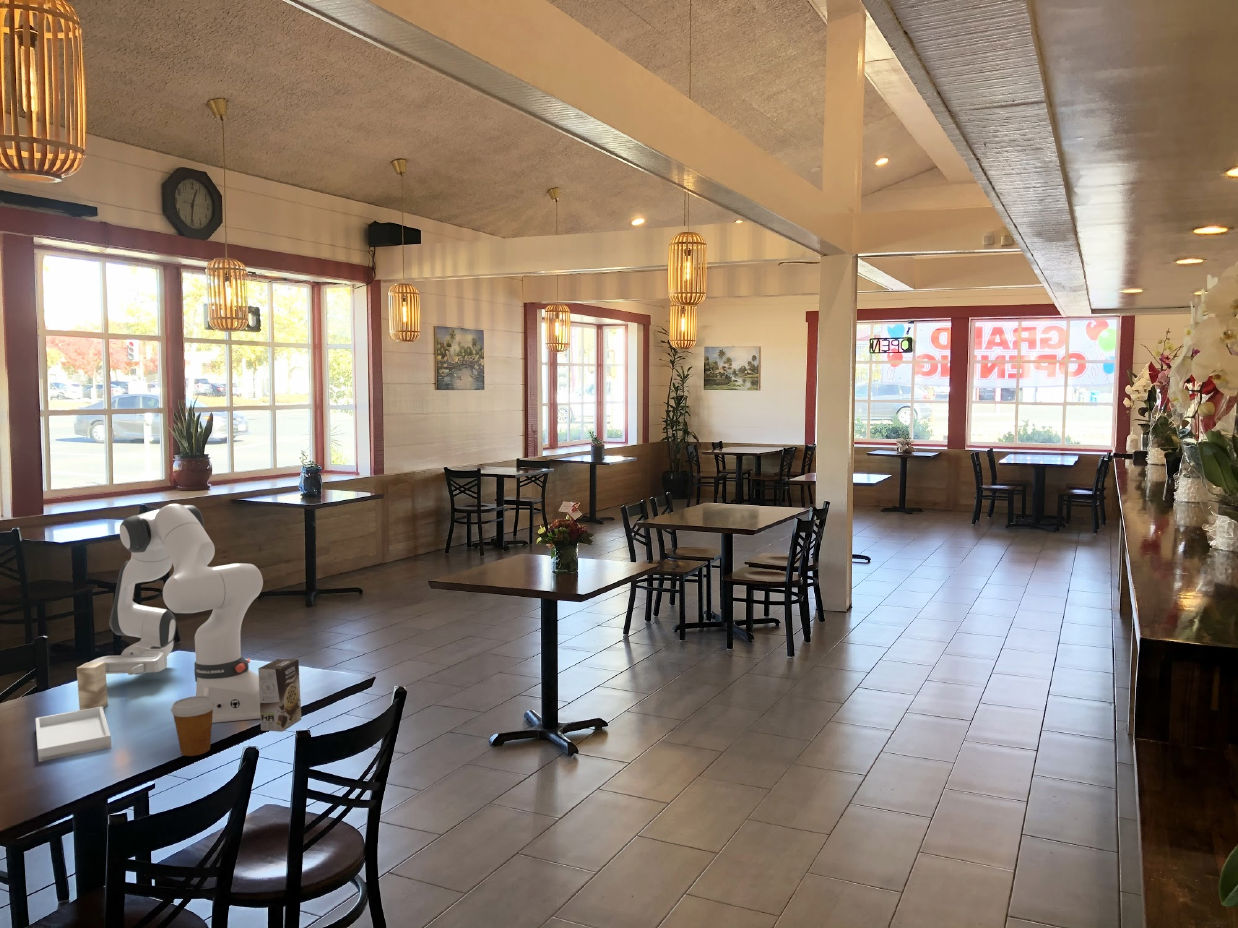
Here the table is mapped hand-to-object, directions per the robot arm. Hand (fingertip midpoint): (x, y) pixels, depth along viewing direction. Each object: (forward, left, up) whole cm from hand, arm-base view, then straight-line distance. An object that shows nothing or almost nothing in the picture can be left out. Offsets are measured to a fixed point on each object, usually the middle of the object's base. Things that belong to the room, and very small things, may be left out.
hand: (113, 672), depth 268 cm
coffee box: (-57, +29, -7) cm, 64 cm away
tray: (-7, +34, -6) cm, 35 cm away
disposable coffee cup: (-42, +45, -7) cm, 62 cm away
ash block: (0, +11, -7) cm, 13 cm away
